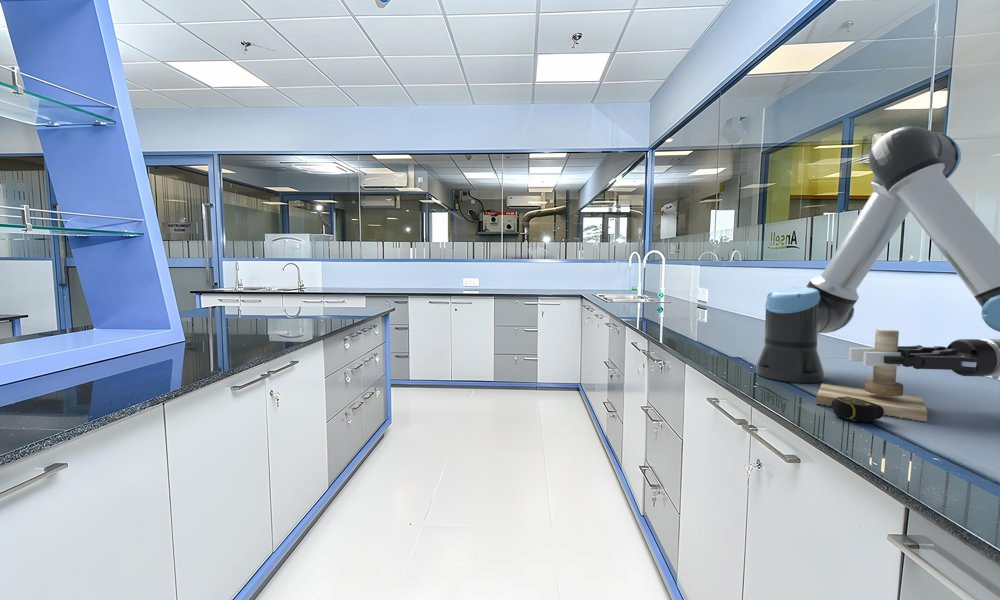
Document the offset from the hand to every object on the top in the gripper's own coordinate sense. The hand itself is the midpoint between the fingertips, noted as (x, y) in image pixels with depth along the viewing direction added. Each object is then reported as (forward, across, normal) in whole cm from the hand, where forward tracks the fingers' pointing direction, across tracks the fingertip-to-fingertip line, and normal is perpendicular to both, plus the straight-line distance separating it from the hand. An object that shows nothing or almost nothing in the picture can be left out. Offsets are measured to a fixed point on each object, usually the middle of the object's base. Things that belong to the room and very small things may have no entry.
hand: (857, 356), depth 91 cm
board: (-3, +1, -11) cm, 11 cm away
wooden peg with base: (-5, 0, -8) cm, 9 cm away
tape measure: (+5, -7, -11) cm, 14 cm away
